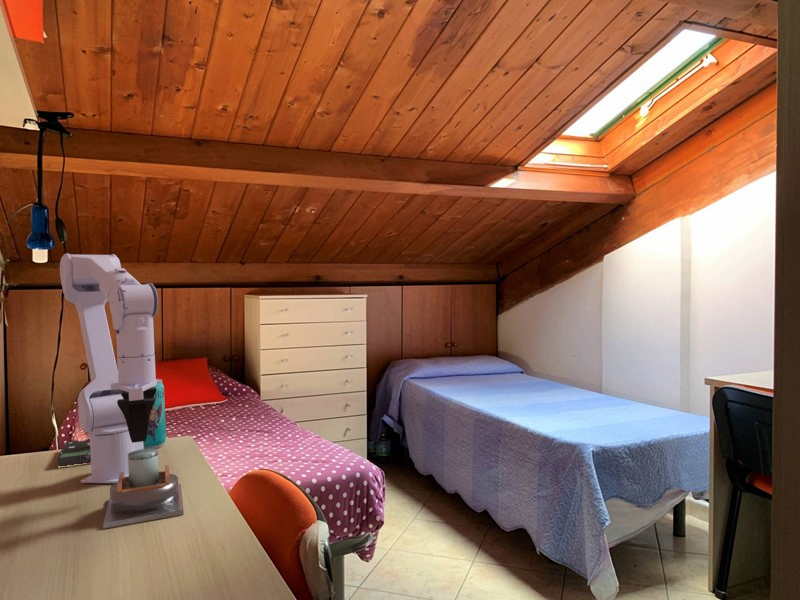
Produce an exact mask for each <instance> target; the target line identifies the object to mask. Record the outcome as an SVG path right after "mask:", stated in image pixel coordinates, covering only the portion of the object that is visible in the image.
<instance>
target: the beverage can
mask: <svg viewBox="0 0 800 600" xmlns="http://www.w3.org/2000/svg"><path fill="white" fill-rule="evenodd" d="M156 380H157V385H156V386H154V388H156V393H155V395H154V397H153V398H156V401H155V403H154V405H153V407H152V410H151V413H150V418H149V425H148V433H147V438H146V441H143V445H144V449H157V450H158V449H160V448H162V447H164V445H165V442H166V439H167V432H166V431H167V429H166V409H165V407H166V406H165V405H166V404H165V386H164V384H163V379H162V378H161V379H160V378H156ZM151 388H153V387H151Z"/></svg>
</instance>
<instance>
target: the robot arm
mask: <svg viewBox="0 0 800 600" xmlns="http://www.w3.org/2000/svg"><path fill="white" fill-rule="evenodd" d="M59 261H60V262H59V277H60V283H61V287H62V293H63V294H64V298H65V300H66V301H68V302H70V303H72V304H74V306H75V309H76V313H77V315H78V319H79V320H78V321H79V324H80V329H81V335H82V340H83V345H84V349H85V350H84V351H85V357H86V361H87V365H88V366H87V367H88V371H89V376H90V382H89V383H88V384H86V386H85V387H84V388H82V389H81V390H80V392H79V393H78V397H77V405H78V407H77V409H78V410H77V414H78V416H77V417H78V422H79V423H78V424H79V426H80V429H81V430H82V431H84V432H85V433H88V434H89V439H90V450H91V464H90V468H91V475H89V476H87V477H85V478H83V479H81V480H80V483H81V484H115V483H117V482H118V479H119V474H120V472H124V477H126V476H129V470H128V454H129V453H130V452H133V451H136V450H141V449H144V445H143V441H146V438H147V433H148V425H149V418H150V413H151V410H152V407H153V405H154V403H155V401H156V398H153V397H154V395H155V393H156V388H154V386H156V385H157V380H156V379H157V378H156V375H157V374H156V355H155V354H156V353H155V333H154V331H155V330H154V329H155V328H154V317H156V316H157V314H158V310H159V296H158V290H157V289H156V286H154V284H153V283H151V282H150V283H149V282H148V283H145V284H141V283H140V282H139V281H138V280H137V279H136V278H135V277H134V276H133V275H131V274H130V273H129V272H128V271H127V270H126V269H125V267H124V268H122V266H121V265H122V264H121V261H120V258H119V257H117V255H116V254H114V253H112V254H73V253H72V254H70V253H64V254H63V256H61V258H60V260H59ZM107 303H109V305H108V306H109V311H110V314H111V319H112V327H113V328H112V329H113V330H115V335H116V336H115V337H116V355H117V357H115V356H116V355H115V352H114V347H113V342H112V337H111V334H110V332H111V331H110V328H109V324H108V318H107V314H106V309H105V308H106V307H105V306H106V304H107ZM116 360H117V362H116ZM151 387H153V388H151Z"/></svg>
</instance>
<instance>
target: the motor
mask: <svg viewBox="0 0 800 600" xmlns="http://www.w3.org/2000/svg"><path fill="white" fill-rule="evenodd" d="M182 493H183V492H182V485H181V483H179V477H178V476H177V475H176V474H173V473H170V466H169V465H164V470H161V471H160V470H159V482H158V483H157V484H155V485H148V486H142V487H135V488H131V487H129V476H126V477H124V472H120V474H119V479H118V482H117V483H113V484H112V485H111V486H110V487H109V499H108V505H107V508H106V512H105V516H104V519H103V525H102V526H103V529H104V530H105V529H110V528H116V527H121V526H126V525H133V524H137V523H144V522H150V521H155V520H160V519H167V518H173V517H178V516H183V515H185V514H184V511H185V509H184V502H183V494H182Z"/></svg>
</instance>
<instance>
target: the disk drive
mask: <svg viewBox="0 0 800 600" xmlns="http://www.w3.org/2000/svg"><path fill="white" fill-rule="evenodd" d="M56 458H57V463H56V464H57V467H58V466H67V465H74V464H83V463H90V462H91V450H90V438H87V439H86V440H78V439H77V440H76V439H75V440H69V441H65V442H64V445H63V447H62V449H61V450H60V452H59V454H58V456H57V457H56Z"/></svg>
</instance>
